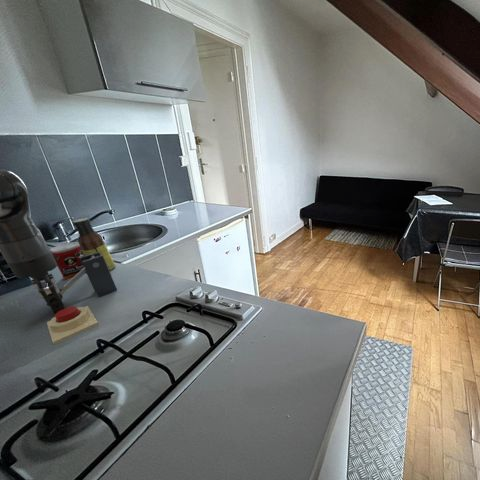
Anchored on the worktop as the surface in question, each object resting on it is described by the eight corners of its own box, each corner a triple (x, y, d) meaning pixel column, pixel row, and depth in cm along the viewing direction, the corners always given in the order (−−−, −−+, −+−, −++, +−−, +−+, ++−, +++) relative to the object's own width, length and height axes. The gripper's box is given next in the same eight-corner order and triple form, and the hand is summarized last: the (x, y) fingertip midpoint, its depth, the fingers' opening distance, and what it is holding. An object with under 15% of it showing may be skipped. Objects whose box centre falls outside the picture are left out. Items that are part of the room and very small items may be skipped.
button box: (50, 329, 65) (43, 316, 63) (90, 312, 70) (84, 299, 69) (57, 349, 58) (48, 335, 56) (101, 329, 63) (94, 316, 62)
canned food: (63, 283, 86) (48, 253, 81) (64, 275, 91) (50, 246, 87) (93, 274, 90) (80, 246, 86) (92, 267, 96) (79, 239, 92)
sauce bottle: (115, 267, 95) (94, 215, 87) (118, 272, 91) (96, 218, 83) (93, 274, 91) (68, 220, 83) (95, 280, 87) (69, 223, 79)
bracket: (88, 310, 71) (67, 269, 66) (81, 298, 77) (62, 260, 72) (133, 291, 79) (118, 253, 74) (124, 282, 84) (110, 246, 79)
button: (56, 318, 62) (53, 312, 62) (78, 310, 65) (75, 304, 65) (59, 325, 60) (56, 319, 59) (81, 316, 63) (78, 310, 62)
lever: (55, 308, 68) (42, 302, 66) (54, 303, 70) (41, 298, 68) (104, 263, 74) (93, 256, 72) (101, 260, 76) (90, 253, 74)
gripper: (5, 253, 65) (39, 309, 72) (6, 269, 57) (44, 330, 63) (46, 243, 71) (74, 296, 77) (53, 255, 62) (83, 314, 69)
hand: (60, 311), depth 70 cm, fingers open, 3 cm apart
